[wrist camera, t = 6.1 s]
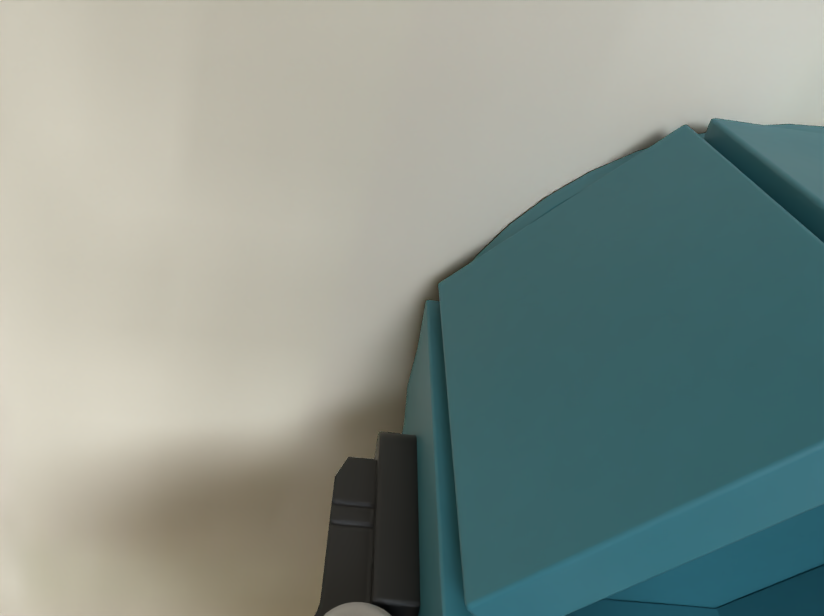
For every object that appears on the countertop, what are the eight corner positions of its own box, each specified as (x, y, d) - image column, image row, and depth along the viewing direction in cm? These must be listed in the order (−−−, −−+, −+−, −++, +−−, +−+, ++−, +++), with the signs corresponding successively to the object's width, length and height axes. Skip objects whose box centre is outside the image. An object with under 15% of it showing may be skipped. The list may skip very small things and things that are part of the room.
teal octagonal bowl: (373, 578, 19) (356, 941, 12) (462, 72, 12) (533, 305, 5) (838, 617, 20) (1045, 968, 14) (1175, 176, 13) (1948, 473, 6)
